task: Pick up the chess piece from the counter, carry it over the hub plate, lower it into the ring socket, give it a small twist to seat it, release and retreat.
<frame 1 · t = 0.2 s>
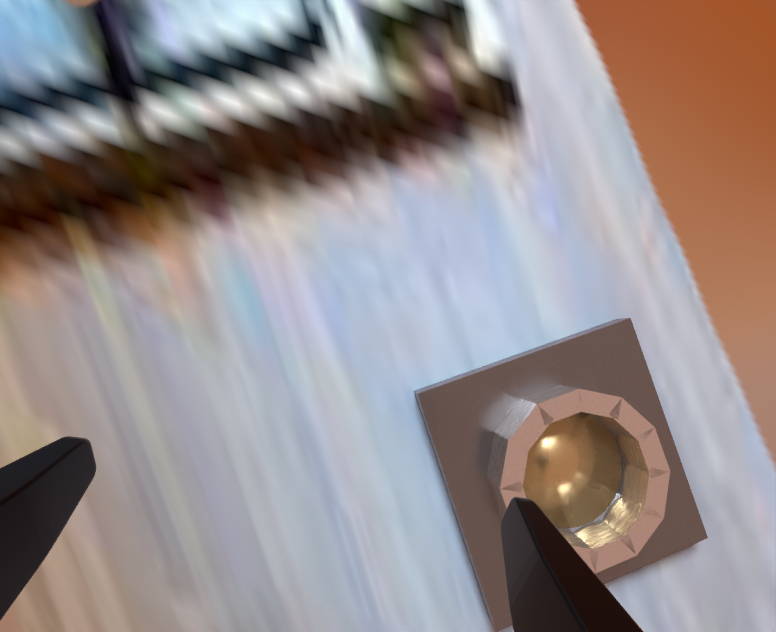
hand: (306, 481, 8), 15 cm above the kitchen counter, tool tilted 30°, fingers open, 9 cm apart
hub plate: (555, 461, 24), on the kitchen counter
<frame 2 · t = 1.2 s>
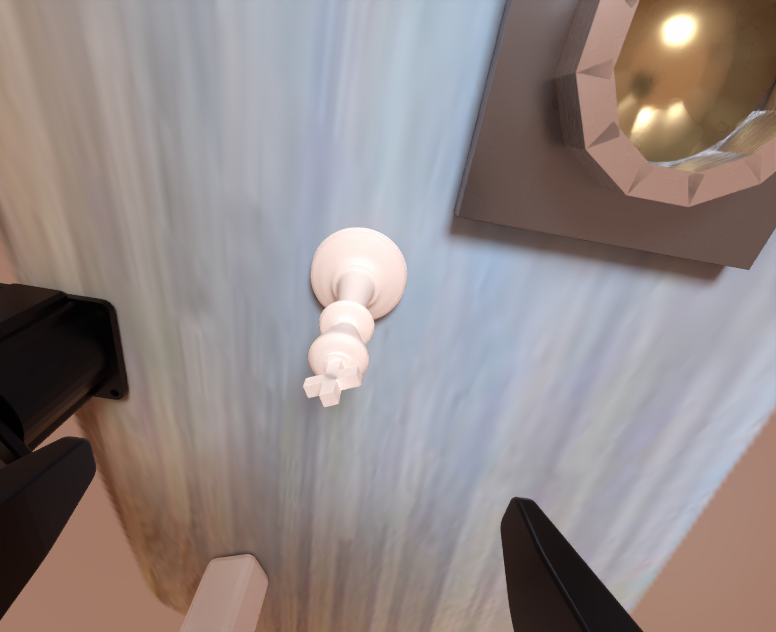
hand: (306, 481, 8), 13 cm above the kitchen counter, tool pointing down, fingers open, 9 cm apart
chess piece: (359, 273, 20), on the kitchen counter
salt shaker: (242, 564, 32), on the kitchen counter
hub plate: (666, 69, 16), on the kitchen counter
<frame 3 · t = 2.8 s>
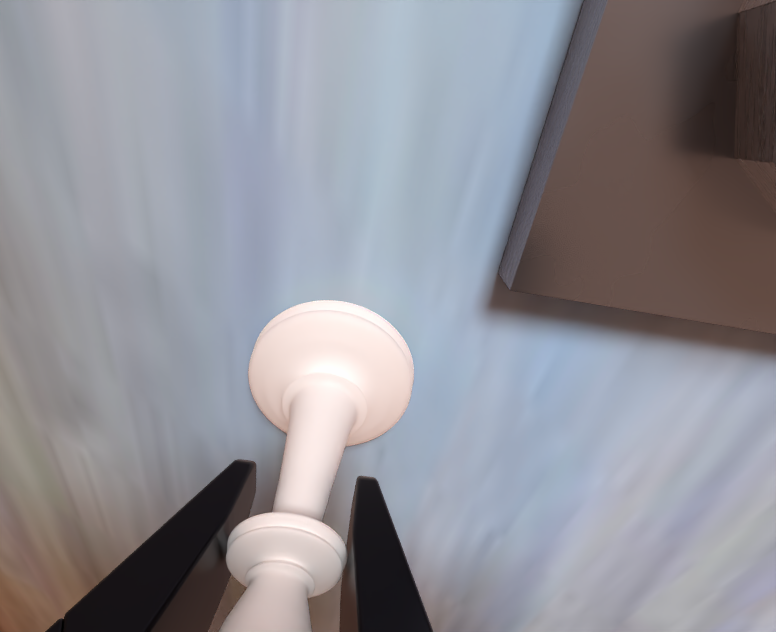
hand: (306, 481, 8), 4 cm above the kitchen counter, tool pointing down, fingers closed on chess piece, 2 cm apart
chess piece: (334, 368, 12), on the kitchen counter, touching gripper
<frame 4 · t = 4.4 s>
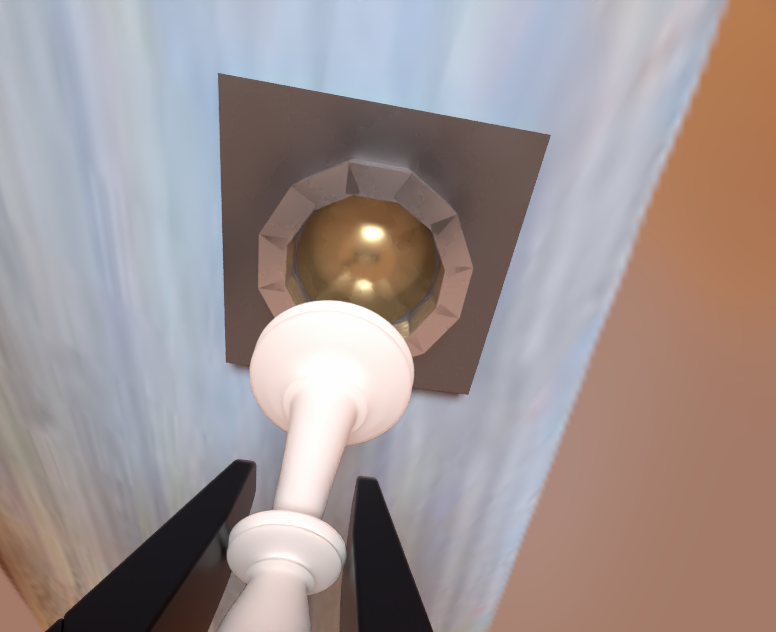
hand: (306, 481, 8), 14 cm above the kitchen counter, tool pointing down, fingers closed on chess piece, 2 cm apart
chess piece: (335, 368, 12), point 9 cm above the kitchen counter, touching gripper
hub plate: (367, 256, 20), on the kitchen counter
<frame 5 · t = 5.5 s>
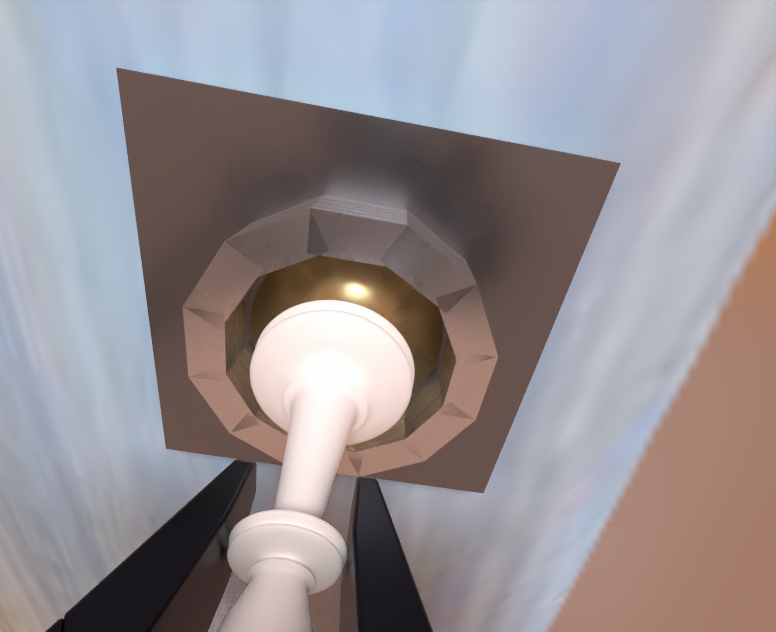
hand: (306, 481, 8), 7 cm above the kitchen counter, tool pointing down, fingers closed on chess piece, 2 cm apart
chess piece: (335, 368, 12), point 3 cm above the kitchen counter, touching gripper
hub plate: (350, 319, 15), on the kitchen counter
when the fingers open (6 cm above the kitchen counter, at t = 6.3 s): chess piece stays where it is, resting on hub plate.
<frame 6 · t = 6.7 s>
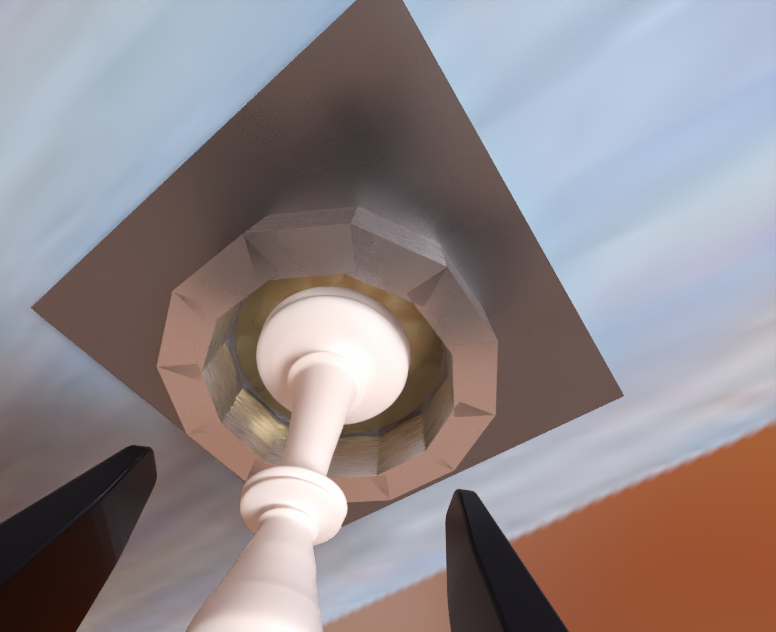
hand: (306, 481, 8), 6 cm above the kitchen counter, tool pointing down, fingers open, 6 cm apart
chess piece: (336, 351, 13), point 1 cm above the kitchen counter, touching hub plate
hub plate: (344, 335, 14), on the kitchen counter
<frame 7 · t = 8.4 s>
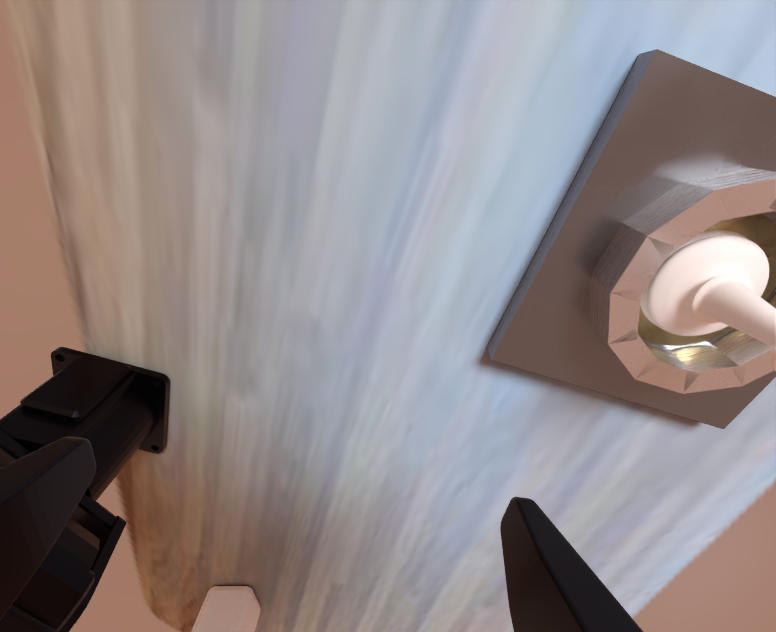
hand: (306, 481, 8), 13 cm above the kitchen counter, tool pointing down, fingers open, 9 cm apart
chess piece: (694, 281, 18), point 1 cm above the kitchen counter, touching hub plate
salt shaker: (237, 593, 34), on the kitchen counter
hub plate: (681, 271, 19), on the kitchen counter
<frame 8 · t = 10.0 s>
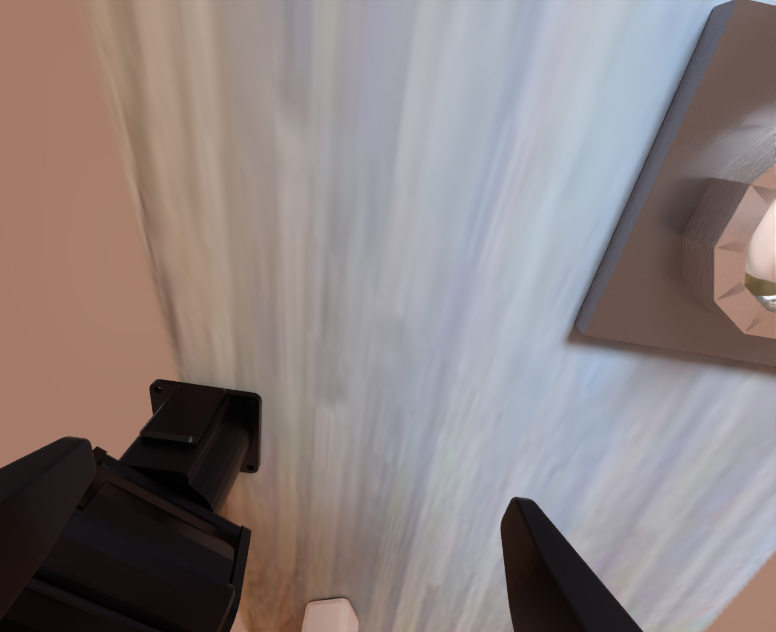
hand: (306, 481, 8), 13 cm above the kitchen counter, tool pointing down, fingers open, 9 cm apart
salt shaker: (333, 606, 34), on the kitchen counter
hub plate: (771, 219, 18), on the kitchen counter
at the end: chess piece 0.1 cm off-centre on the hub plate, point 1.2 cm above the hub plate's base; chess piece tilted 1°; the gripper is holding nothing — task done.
